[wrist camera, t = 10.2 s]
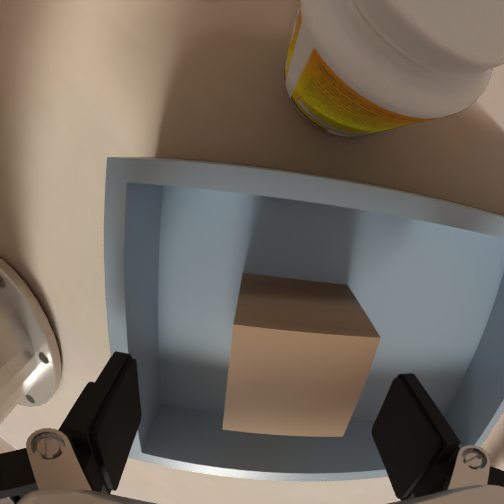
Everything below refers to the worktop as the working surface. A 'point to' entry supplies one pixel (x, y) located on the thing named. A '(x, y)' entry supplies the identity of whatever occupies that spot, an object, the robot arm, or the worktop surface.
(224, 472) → the tote
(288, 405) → the walnut cube
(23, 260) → the worktop surface
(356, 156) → the worktop surface
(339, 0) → the supplement bottle
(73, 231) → the worktop surface
